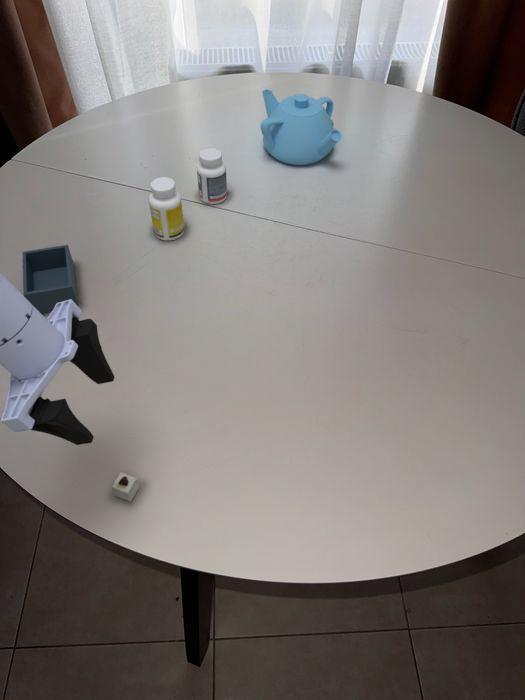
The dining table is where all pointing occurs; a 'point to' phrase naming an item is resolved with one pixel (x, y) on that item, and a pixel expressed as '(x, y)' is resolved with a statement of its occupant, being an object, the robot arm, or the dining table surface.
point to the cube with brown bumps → (125, 486)
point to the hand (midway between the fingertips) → (96, 409)
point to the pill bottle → (211, 176)
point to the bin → (49, 277)
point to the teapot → (298, 128)
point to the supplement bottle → (166, 209)
